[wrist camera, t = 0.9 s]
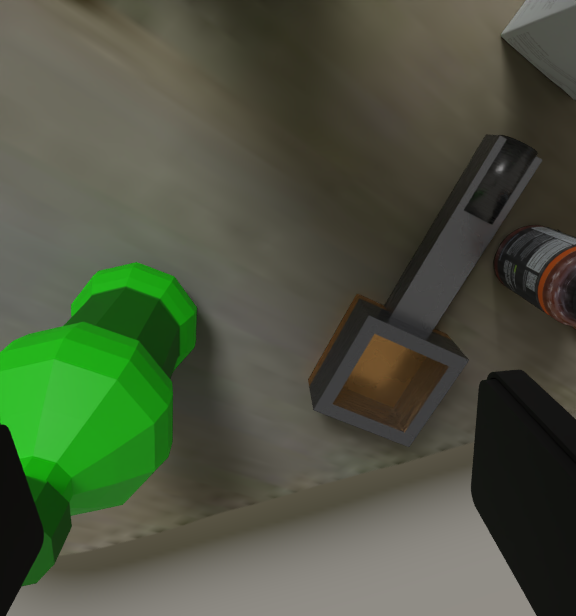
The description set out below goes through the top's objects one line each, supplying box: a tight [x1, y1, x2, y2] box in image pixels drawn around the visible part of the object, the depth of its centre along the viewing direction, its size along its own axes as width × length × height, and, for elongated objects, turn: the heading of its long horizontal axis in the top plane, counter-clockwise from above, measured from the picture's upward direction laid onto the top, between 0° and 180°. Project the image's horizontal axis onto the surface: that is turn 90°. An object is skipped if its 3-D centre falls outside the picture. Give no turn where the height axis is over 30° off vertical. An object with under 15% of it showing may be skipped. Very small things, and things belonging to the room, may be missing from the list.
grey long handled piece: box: [308, 134, 542, 447], centre depth 39 cm, size 26×10×5 cm, turn 154°
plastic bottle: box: [0, 262, 197, 586], centre depth 29 cm, size 10×10×25 cm
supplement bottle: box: [494, 225, 576, 326], centre depth 36 cm, size 6×6×11 cm
